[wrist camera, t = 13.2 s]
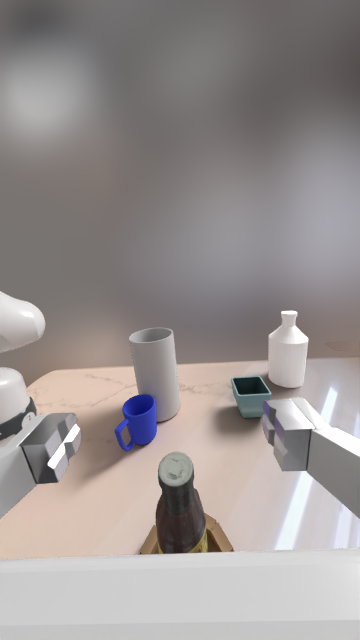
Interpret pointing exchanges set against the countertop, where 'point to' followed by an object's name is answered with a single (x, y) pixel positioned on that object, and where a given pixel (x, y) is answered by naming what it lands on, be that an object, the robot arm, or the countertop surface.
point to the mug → (138, 421)
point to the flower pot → (250, 395)
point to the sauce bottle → (179, 508)
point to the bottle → (287, 353)
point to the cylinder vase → (157, 369)
